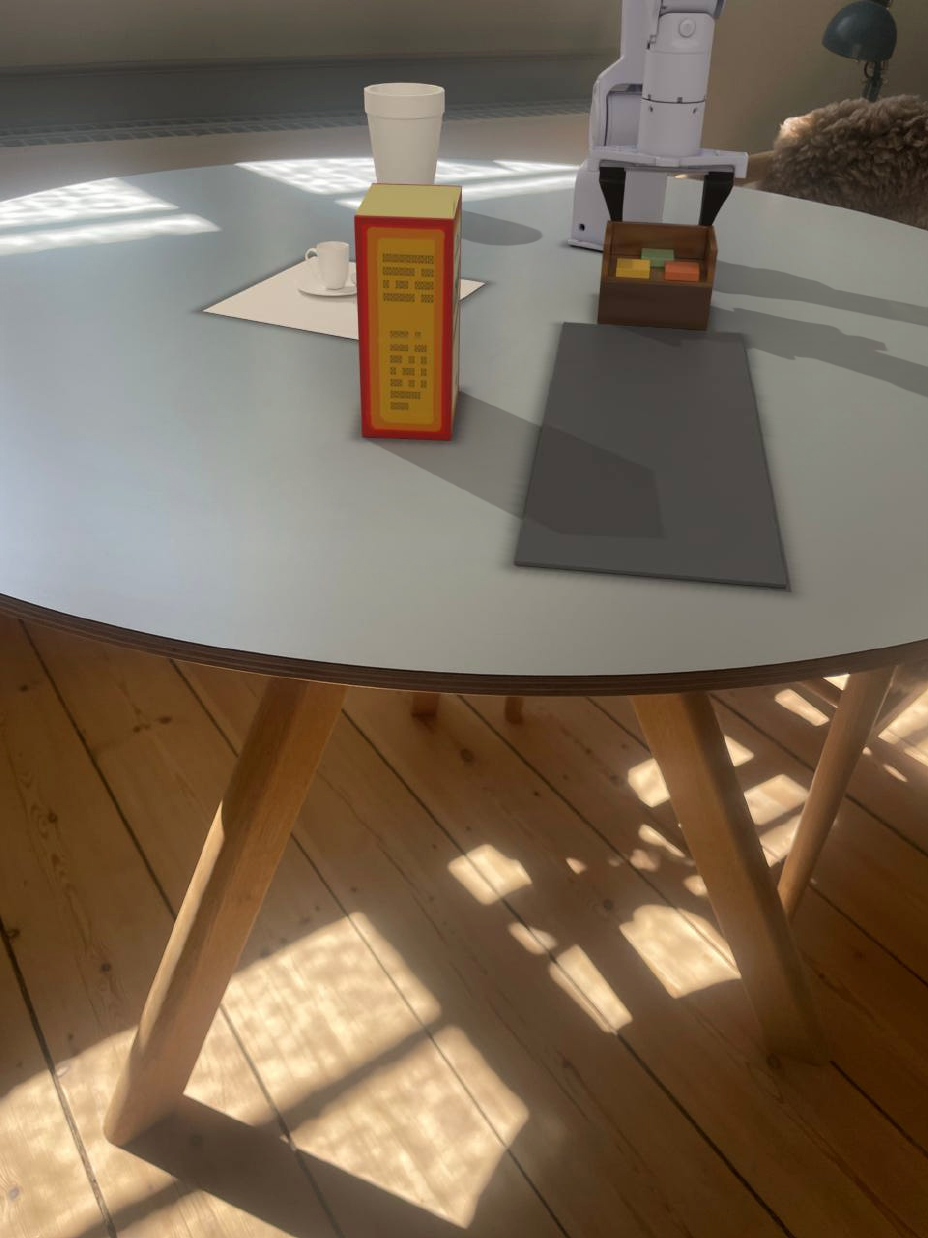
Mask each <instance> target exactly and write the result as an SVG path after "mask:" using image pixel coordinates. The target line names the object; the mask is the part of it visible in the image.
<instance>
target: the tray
mask: <svg viewBox="0 0 928 1238" xmlns="http://www.w3.org/2000/svg"><path fill="white" fill-rule="evenodd" d="M642 248H648V249H666V250H674V262H691V263H698V264H699V273H700V274H699V281H698V282H696V281H678V280H665V267H650V274H649V279H643V278H626V277H616V266H617V258H622V259H639V260H641V250H642ZM718 253H719V247H718V240H717V234H716V228H715V225H712V226H707V225H698V224H688V223H670V222H669V223H668V222H662V223H652V222H634V221H615V220H614V221H613V220H607V224H606V230H605V237H604V245H603V251H602V257H601V269H600V281H601V280H608V281H625V282H642V283H658V284H675V285H692V286H709V287H713V288H714V283H715V282H714V281H715V276H716V275H715V274H716V268H717V261H718Z"/></svg>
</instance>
